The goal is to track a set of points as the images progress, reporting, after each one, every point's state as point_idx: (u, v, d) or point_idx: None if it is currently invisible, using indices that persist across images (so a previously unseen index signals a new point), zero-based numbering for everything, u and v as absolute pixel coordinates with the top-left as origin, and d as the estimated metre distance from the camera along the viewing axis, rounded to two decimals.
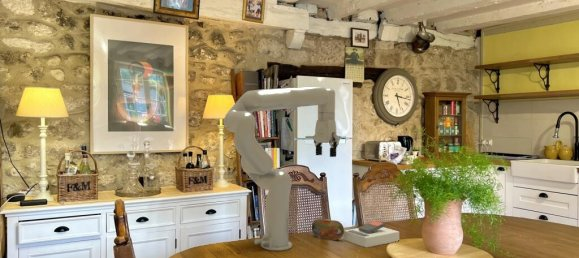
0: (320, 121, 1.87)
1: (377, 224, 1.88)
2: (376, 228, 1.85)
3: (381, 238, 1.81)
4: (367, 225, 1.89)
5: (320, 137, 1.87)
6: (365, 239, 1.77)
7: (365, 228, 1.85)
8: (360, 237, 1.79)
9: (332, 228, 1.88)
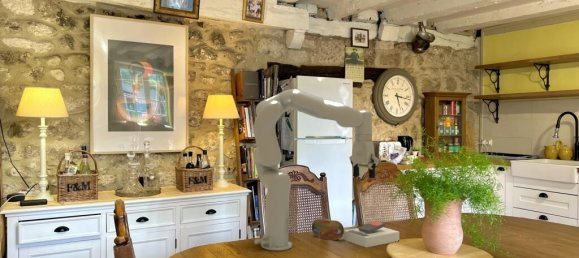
0: (357, 142, 1.88)
1: (377, 224, 1.88)
2: (376, 228, 1.85)
3: (381, 238, 1.81)
4: (367, 225, 1.89)
5: (358, 159, 1.88)
6: (365, 239, 1.77)
7: (365, 228, 1.85)
8: (360, 237, 1.79)
9: (332, 228, 1.88)
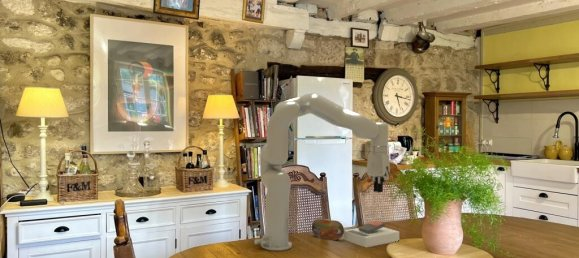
0: (373, 154, 1.88)
1: (377, 224, 1.88)
2: (376, 228, 1.85)
3: (381, 238, 1.81)
4: (367, 225, 1.89)
5: (373, 170, 1.88)
6: (365, 239, 1.77)
7: (365, 228, 1.85)
8: (360, 237, 1.79)
9: (332, 228, 1.88)
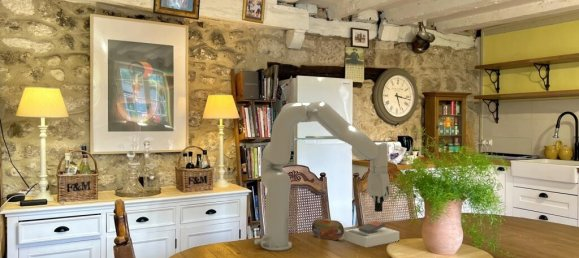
0: (373, 174, 1.88)
1: (377, 224, 1.88)
2: (376, 228, 1.85)
3: (381, 238, 1.81)
4: (367, 225, 1.89)
5: (373, 190, 1.88)
6: (365, 239, 1.77)
7: (365, 228, 1.85)
8: (360, 237, 1.79)
9: (332, 228, 1.88)
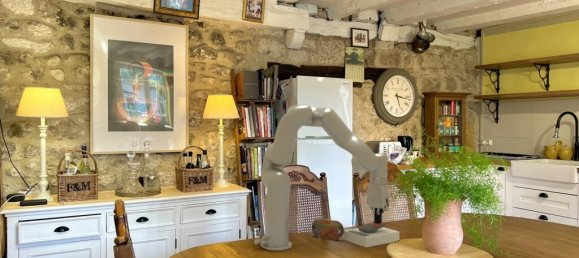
0: (373, 185, 1.88)
1: (377, 224, 1.88)
2: (376, 228, 1.85)
3: (381, 238, 1.81)
4: (367, 225, 1.89)
5: (372, 202, 1.88)
6: (365, 239, 1.77)
7: (365, 228, 1.85)
8: (360, 237, 1.79)
9: (332, 228, 1.88)
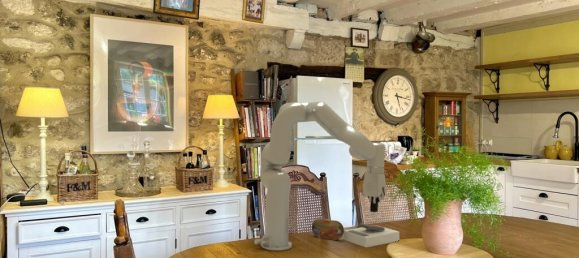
0: (369, 174, 1.90)
1: (377, 226, 1.88)
2: (376, 228, 1.85)
3: (381, 238, 1.81)
4: (367, 224, 1.89)
5: (369, 190, 1.89)
6: (365, 239, 1.77)
7: (365, 225, 1.85)
8: (360, 237, 1.79)
9: (332, 228, 1.88)
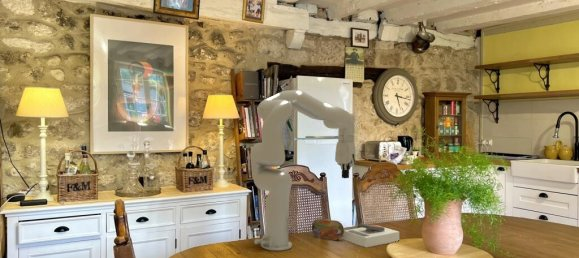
0: (340, 143, 2.02)
1: (377, 226, 1.88)
2: (376, 228, 1.85)
3: (381, 238, 1.81)
4: (367, 224, 1.89)
5: (340, 158, 2.02)
6: (365, 239, 1.77)
7: (365, 225, 1.85)
8: (360, 237, 1.79)
9: (332, 228, 1.88)
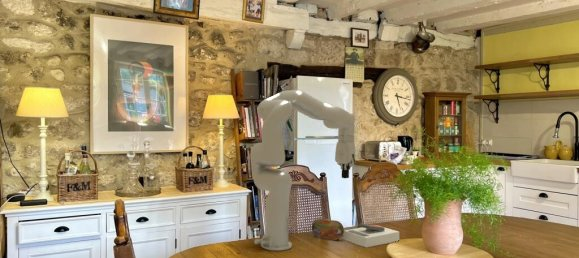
0: (340, 143, 2.02)
1: (377, 226, 1.88)
2: (376, 228, 1.85)
3: (381, 238, 1.81)
4: (367, 224, 1.89)
5: (340, 158, 2.02)
6: (365, 239, 1.77)
7: (365, 225, 1.85)
8: (360, 237, 1.79)
9: (332, 228, 1.88)
